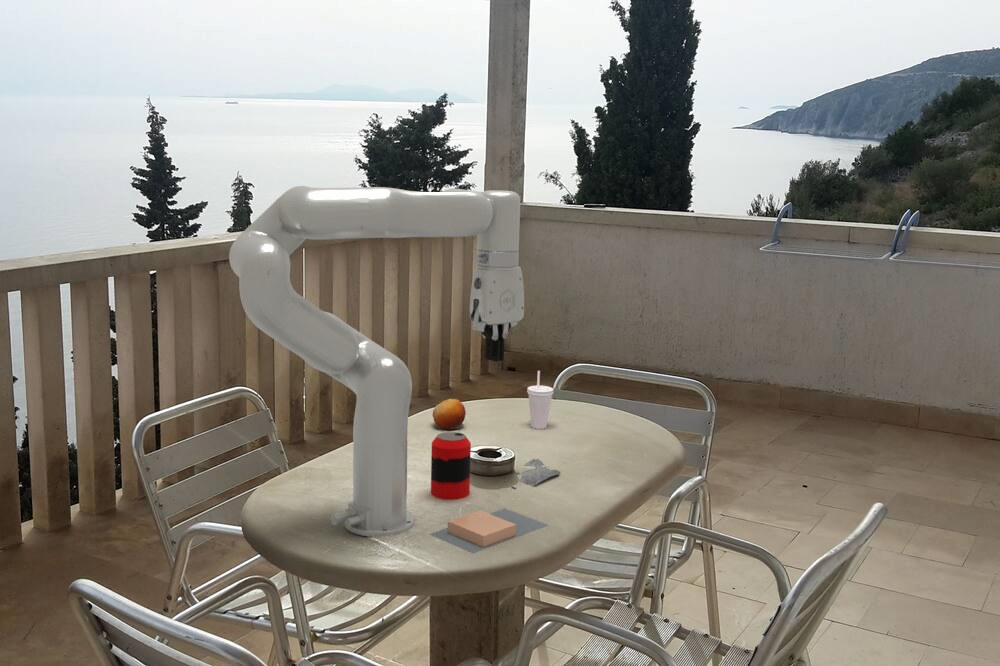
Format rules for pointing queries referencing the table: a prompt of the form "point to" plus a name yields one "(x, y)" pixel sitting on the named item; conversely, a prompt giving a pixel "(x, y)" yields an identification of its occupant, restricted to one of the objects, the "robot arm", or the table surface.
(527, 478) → the stone slab
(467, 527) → the tile
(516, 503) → the table surface
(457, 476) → the soda can
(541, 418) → the smoothie
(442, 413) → the fruit
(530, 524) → the mat
